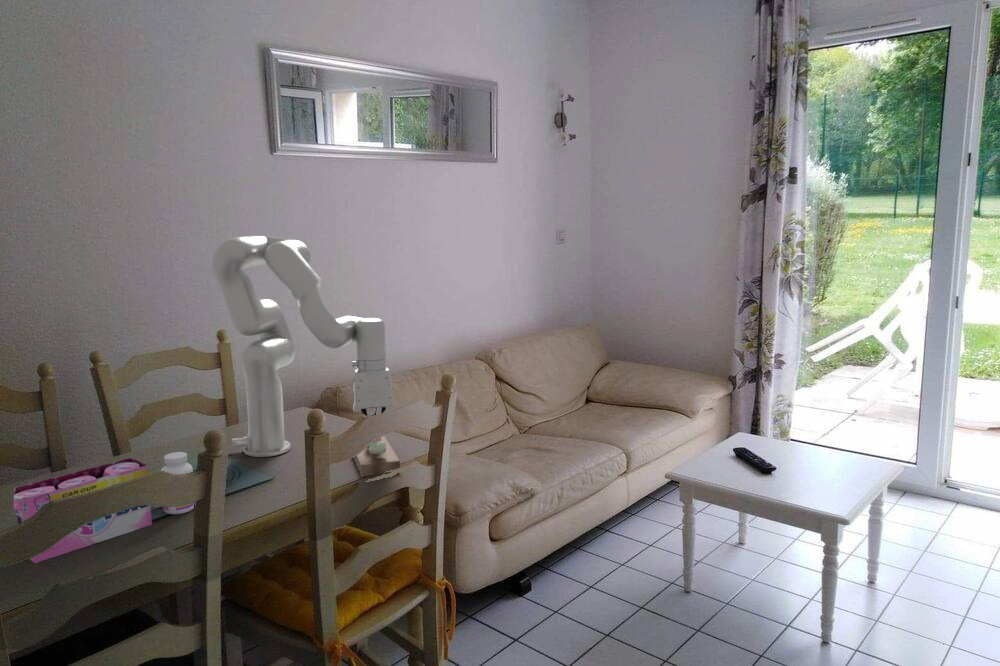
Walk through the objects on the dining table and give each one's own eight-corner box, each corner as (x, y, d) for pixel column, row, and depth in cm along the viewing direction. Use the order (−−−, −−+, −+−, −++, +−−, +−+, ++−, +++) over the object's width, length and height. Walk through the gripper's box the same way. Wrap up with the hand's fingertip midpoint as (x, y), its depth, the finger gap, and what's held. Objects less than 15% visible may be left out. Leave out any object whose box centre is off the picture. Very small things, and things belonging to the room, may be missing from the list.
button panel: (361, 476, 179) (361, 465, 179) (349, 448, 200) (348, 438, 199) (399, 471, 183) (399, 460, 182) (384, 445, 203) (383, 435, 203)
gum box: (26, 567, 133) (18, 500, 130) (11, 554, 138) (4, 489, 135) (153, 524, 151) (148, 464, 149) (136, 514, 156) (131, 456, 154)
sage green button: (370, 454, 181) (370, 447, 181) (367, 449, 185) (367, 442, 185) (387, 453, 183) (387, 445, 182) (384, 447, 187) (384, 440, 186)
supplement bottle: (201, 504, 162) (197, 450, 160) (185, 516, 155) (181, 461, 153) (173, 502, 162) (169, 449, 160) (157, 514, 156) (152, 459, 154)
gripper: (345, 369, 181) (347, 438, 184) (402, 365, 186) (404, 431, 189) (341, 363, 188) (344, 429, 191) (396, 359, 193) (398, 424, 196)
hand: (373, 430), depth 190 cm, fingers closed
